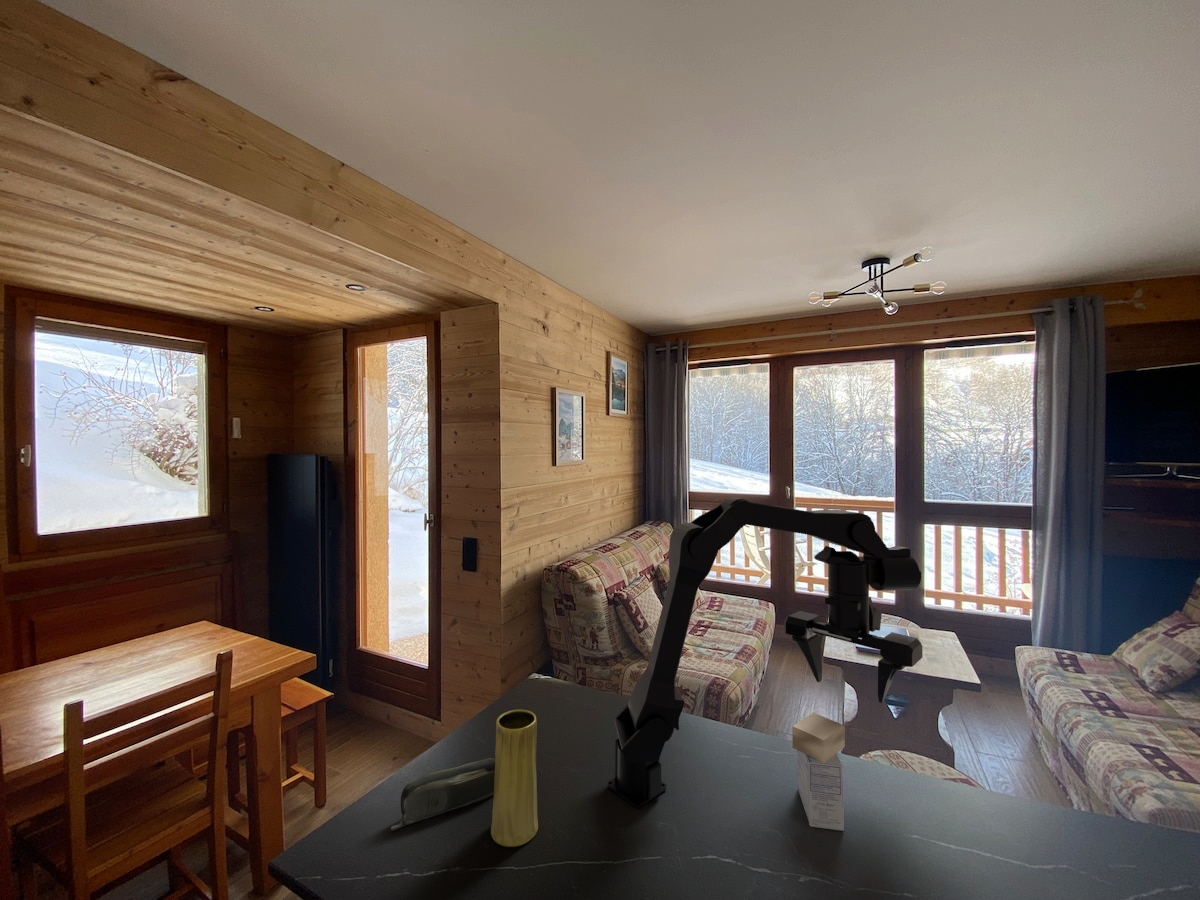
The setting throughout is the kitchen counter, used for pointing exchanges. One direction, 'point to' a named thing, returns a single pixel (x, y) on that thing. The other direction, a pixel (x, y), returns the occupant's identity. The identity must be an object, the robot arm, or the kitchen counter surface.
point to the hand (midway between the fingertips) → (848, 691)
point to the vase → (515, 779)
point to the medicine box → (821, 791)
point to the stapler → (446, 791)
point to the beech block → (818, 737)
